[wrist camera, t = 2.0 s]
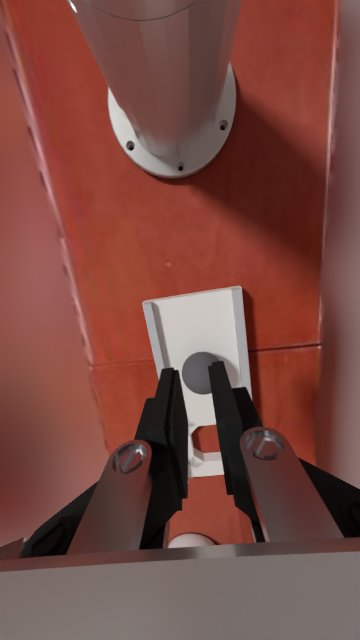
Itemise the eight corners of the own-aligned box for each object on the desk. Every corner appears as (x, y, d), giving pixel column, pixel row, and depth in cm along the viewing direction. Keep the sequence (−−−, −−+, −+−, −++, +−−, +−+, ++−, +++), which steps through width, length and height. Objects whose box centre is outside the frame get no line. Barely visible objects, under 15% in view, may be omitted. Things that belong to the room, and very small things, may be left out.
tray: (144, 300, 29) (140, 304, 27) (239, 285, 28) (243, 288, 26) (180, 469, 37) (180, 484, 34) (256, 462, 36) (260, 477, 33)
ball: (179, 348, 29) (177, 366, 24) (218, 342, 29) (224, 360, 24) (185, 382, 30) (184, 406, 26) (223, 377, 30) (229, 401, 25)
